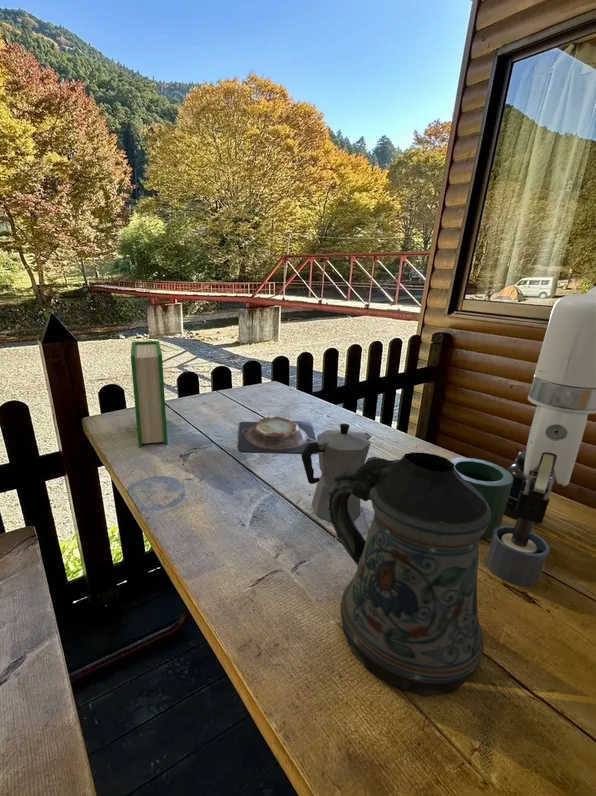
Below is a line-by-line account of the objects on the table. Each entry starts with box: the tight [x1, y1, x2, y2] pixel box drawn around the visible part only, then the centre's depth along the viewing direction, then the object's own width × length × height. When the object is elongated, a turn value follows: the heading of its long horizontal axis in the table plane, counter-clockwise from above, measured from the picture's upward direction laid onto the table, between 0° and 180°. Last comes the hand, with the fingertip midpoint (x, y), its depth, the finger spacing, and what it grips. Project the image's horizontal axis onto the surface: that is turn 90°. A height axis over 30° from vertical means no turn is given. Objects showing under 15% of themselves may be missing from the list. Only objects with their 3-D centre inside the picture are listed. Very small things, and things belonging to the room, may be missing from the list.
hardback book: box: [130, 340, 168, 448], centre depth 110 cm, size 18×7×24 cm, turn 11°
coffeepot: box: [301, 423, 373, 523], centre depth 76 cm, size 15×9×18 cm, turn 115°
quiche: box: [237, 416, 317, 454], centre depth 111 cm, size 21×20×4 cm
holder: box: [485, 525, 551, 587], centre depth 63 cm, size 7×7×6 cm
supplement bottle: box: [503, 451, 527, 521], centre depth 76 cm, size 7×7×12 cm
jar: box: [448, 457, 513, 540], centre depth 73 cm, size 10×10×11 cm
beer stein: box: [328, 452, 491, 697], centre depth 49 cm, size 16×19×25 cm
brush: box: [501, 480, 537, 554], centre depth 61 cm, size 4×4×16 cm
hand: (528, 512), depth 60 cm, fingers open, 3 cm apart
